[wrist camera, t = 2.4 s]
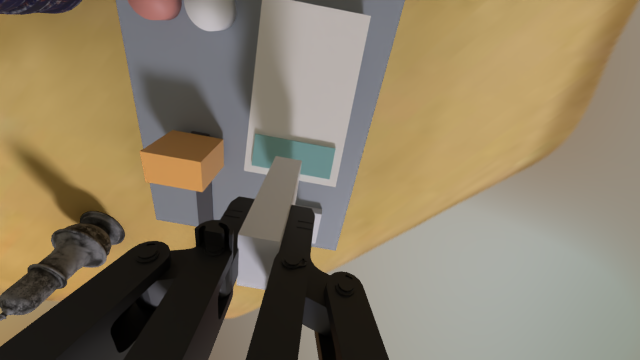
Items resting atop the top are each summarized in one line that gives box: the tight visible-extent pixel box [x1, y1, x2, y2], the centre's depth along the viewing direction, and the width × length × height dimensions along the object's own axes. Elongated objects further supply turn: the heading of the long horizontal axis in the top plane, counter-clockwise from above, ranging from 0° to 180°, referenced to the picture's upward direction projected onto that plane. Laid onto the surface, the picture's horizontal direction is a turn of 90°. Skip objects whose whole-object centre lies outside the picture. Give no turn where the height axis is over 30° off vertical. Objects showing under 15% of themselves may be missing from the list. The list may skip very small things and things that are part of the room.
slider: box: [140, 130, 224, 192], centre depth 20 cm, size 2×4×4 cm, turn 80°
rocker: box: [244, 0, 371, 187], centre depth 17 cm, size 10×6×2 cm, turn 170°
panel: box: [116, 0, 405, 251], centre depth 22 cm, size 22×18×6 cm
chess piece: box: [0, 211, 125, 320], centre depth 28 cm, size 6×6×12 cm
